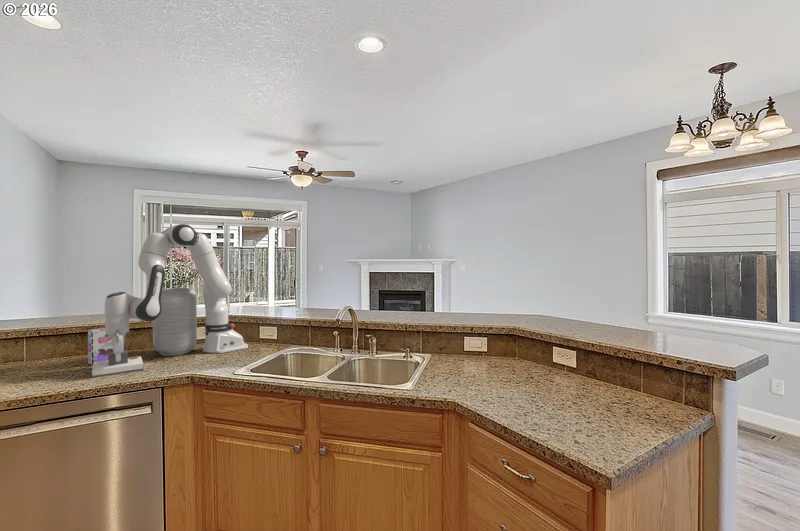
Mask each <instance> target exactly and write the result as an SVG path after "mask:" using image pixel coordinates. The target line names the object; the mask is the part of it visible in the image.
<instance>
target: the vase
mask: <svg viewBox="0 0 800 531" xmlns="http://www.w3.org/2000/svg"><path fill="white" fill-rule="evenodd" d="M196 298H197V297H196V295H195V293H193V292H191V290H190V288H189V287H172V288H168V287H167V288H163V290H162V295H161V306H162V310H161V314H160V315H159V317H158V318H156V319H155V320H153V321H152V343H153V349H155V351H157V353H159V354H160V355H161V356H166V357H170V356H171V357H172V356H173V357H174V356H180V355H185V354H188V353H190V352H191V351H192V350H193V349H194V348H195V347H196V345H197V342H198V338H197V337H198V317H197V316H198V315H197V314H198V313H197V299H196Z"/></svg>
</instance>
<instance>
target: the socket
mask: <svg viewBox="0 0 800 531" xmlns="http://www.w3.org/2000/svg"><path fill="white" fill-rule="evenodd" d="M140 371H144V362H143V359H142V356H138V355H137V356H130V357H128V363H123V364H115V365H114V364H113V365H109V363H108V361H100V362H93V366H92V369H91V374H92V375H91V377H92V379H93V378H100V377H106V376H113V375H120V374H127V373H134V372H140Z"/></svg>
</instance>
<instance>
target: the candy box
mask: <svg viewBox="0 0 800 531" xmlns="http://www.w3.org/2000/svg"><path fill="white" fill-rule="evenodd" d="M124 350H126V336H123V351H124ZM108 352H113V343H112V338H110V337H109V334H105V327H101V328H93V329H87V363H88V364H89V365H90V366H92V367H93V362H100V361H108Z"/></svg>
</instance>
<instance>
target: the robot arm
mask: <svg viewBox="0 0 800 531" xmlns="http://www.w3.org/2000/svg"><path fill="white" fill-rule="evenodd" d="M183 247H185V248H187V250H188V251H189V253H190V255H191V259H192V260H193V263H194V267H195V268H196V271H197V273H198V274H199V276H200V277H201V279H202V281H203V283H202V286H201V287H202V288H201V289H202V294H203V301H204V308H205V323H204V336H205V339H204V345H203V349H202V351H203V352H204V353H208V354H209V353H216V354H223V353H228V352H229V353H230V352H234V351H239V350H245V349H248V348H249V345H248V343H245V342H244V337H243V336H242V335H241V334H240V333H238V332H237V331H235V330H234V328H235V326H236V325H235V324H234V323H230V322H229V307H228V304H227V300H226V298H227V297H228V296H229V295H231V293H232V289H233V288H232V285H231V283H230V282H229V280H228V278H227V275H226V274H225V271H224V270H223V269H222V267H221V265H220V262H219V260H218V258H217V255H216V253H215V249H214V247H213V245H212V243H211V241H210V240H209V238H208V237H207V235H206V234H205V233H200V232H199V233H198V232H197V231H196V230H195V228H194V227H192V226H191V225H189V224H185V223H180V224H176V225H175V224H174V225H172V226H170V227H167V228H166V229H164V230H163V231H162V232H151V233H149V234H148V235H147V237H146V239H145V241H144V242H143V244H142V247H141V250H140V253H139V255H138V261H137V263H138V267H139V269H140V270H141V271H142V272H143V273H144V274H145V275H146V276H147V286H146V291H145V295H144V297H143V298H141V297H137V296H134V295H131V294H129V293H127V292H124V291H119V292H113V293H110V294H108V295H107V296H106V298H105V302H104V315H105V321H104V328H105V334H109V337H110V338H112V343H113V353H114V354H115V356H116V361H117V362H118V361H121V353H123V336H125V337H126V336H127V333H129V332H130V319H135V320H141V321H143V322H153V320H155V319H156V318H158V317H159V315H160V314H161V310H162V306H161V295H162V290H163V289H164V283H165V277H166V270H165V268H166V267H165V266H166V262H167V258H168V253H169V251H170V250H171V249H177V248H183Z"/></svg>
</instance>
